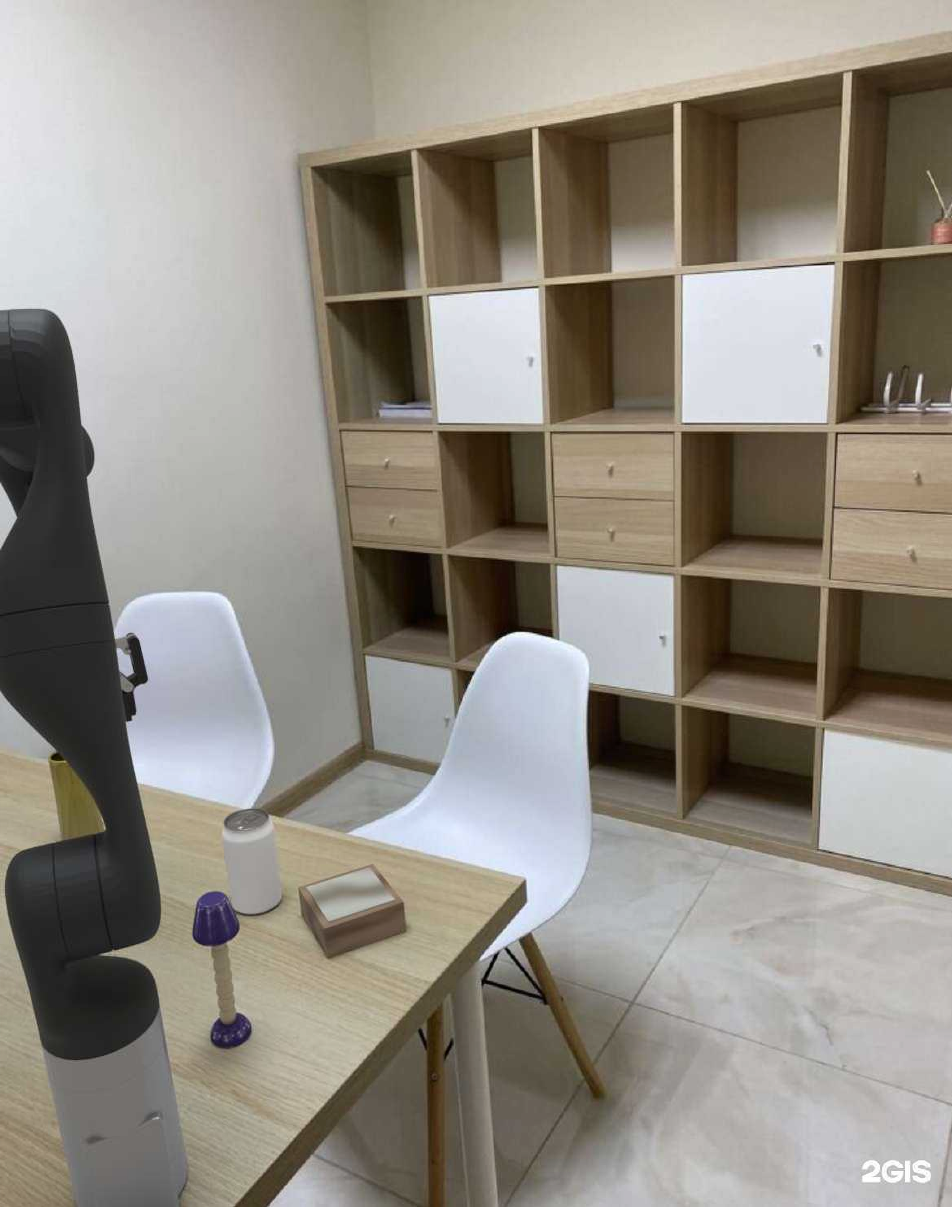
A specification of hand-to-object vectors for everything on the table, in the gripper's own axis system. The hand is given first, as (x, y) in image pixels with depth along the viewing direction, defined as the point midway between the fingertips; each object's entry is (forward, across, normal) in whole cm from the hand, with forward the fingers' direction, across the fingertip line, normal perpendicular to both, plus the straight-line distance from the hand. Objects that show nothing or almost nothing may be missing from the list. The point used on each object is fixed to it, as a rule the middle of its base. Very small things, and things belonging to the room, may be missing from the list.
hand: (91, 727), depth 115 cm
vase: (+26, -2, +24) cm, 35 cm away
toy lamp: (+27, +6, -29) cm, 40 cm away
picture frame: (+26, +24, -17) cm, 40 cm away
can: (+26, +16, -6) cm, 31 cm away
